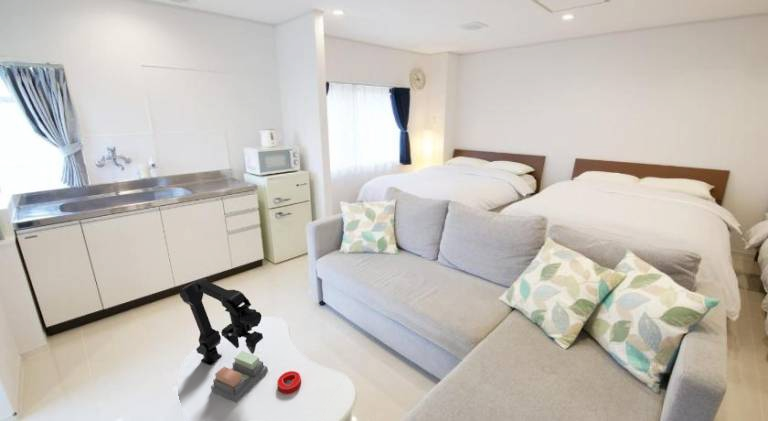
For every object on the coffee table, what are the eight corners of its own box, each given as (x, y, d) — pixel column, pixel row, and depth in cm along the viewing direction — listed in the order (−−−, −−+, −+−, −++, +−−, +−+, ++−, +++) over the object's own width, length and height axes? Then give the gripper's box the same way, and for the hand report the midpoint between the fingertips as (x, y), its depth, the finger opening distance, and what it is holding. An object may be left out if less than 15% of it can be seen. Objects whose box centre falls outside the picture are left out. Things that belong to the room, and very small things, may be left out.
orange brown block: (216, 381, 140) (215, 373, 139) (225, 373, 144) (223, 366, 142) (234, 389, 136) (232, 381, 135) (242, 381, 140) (241, 373, 138)
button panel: (211, 391, 141) (209, 381, 139) (244, 361, 156) (242, 352, 154) (236, 402, 135) (233, 392, 133) (267, 371, 151) (266, 361, 149)
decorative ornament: (279, 378, 147) (278, 372, 146) (301, 374, 149) (301, 369, 148) (277, 396, 138) (276, 390, 137) (300, 392, 140) (300, 386, 139)
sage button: (235, 364, 148) (234, 357, 147) (243, 357, 152) (242, 350, 151) (252, 371, 145) (251, 364, 143) (260, 364, 148) (258, 357, 147)
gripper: (269, 314, 144) (274, 344, 149) (238, 305, 152) (244, 333, 157) (249, 330, 134) (255, 361, 139) (217, 319, 142) (224, 349, 147)
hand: (245, 350), depth 146 cm, fingers open, 9 cm apart
